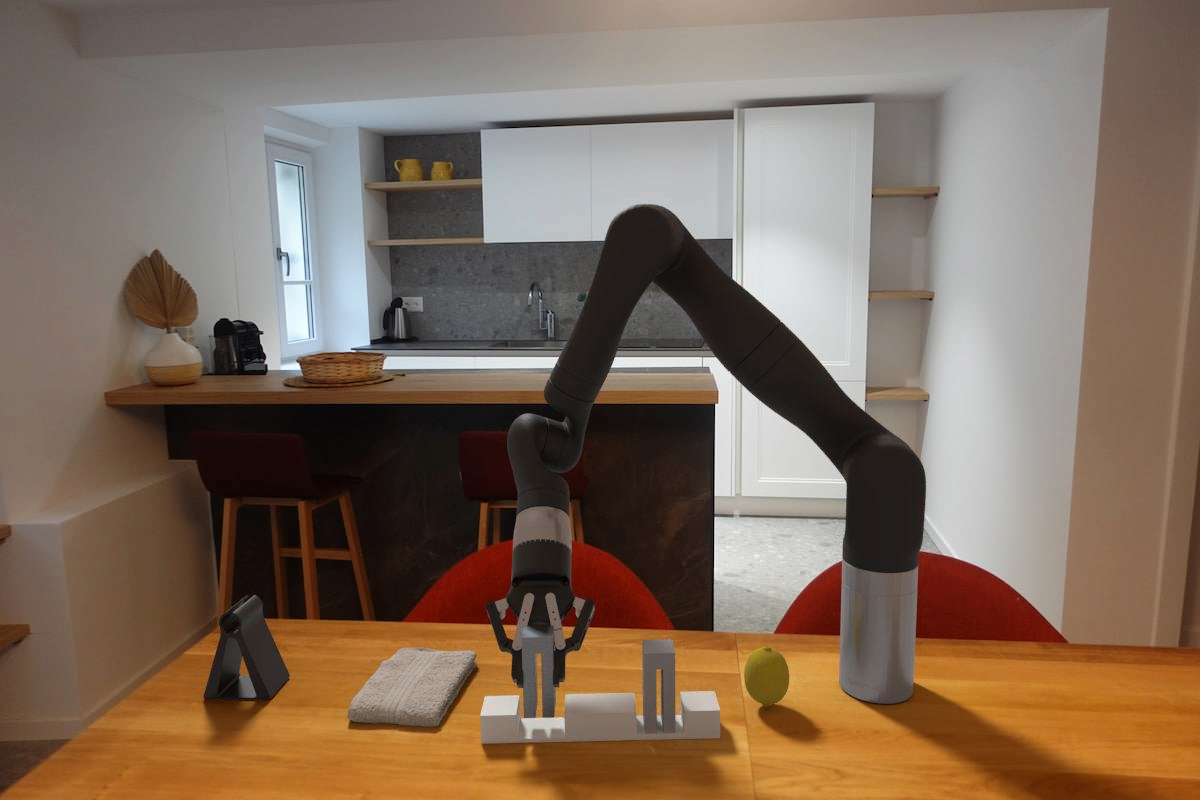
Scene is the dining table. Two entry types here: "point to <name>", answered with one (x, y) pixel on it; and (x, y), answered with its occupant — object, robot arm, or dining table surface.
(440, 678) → the washcloth
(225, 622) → the phone stand
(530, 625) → the grey slotted block
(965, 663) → the dining table surface
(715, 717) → the rail
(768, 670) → the lemon
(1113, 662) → the dining table surface
